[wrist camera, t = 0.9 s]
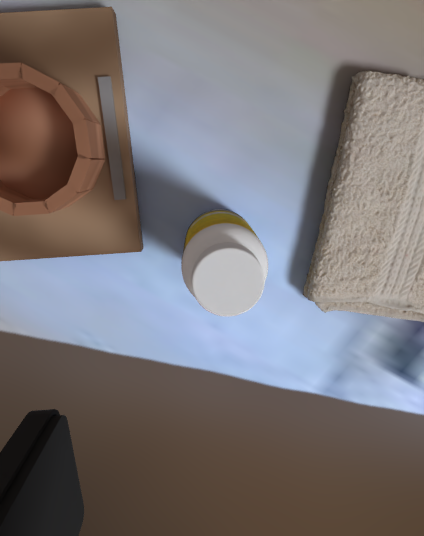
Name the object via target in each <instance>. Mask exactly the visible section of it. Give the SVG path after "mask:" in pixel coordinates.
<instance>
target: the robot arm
mask: <svg viewBox="0 0 424 536" xmlns="http://www.w3.org/2000/svg"><path fill="white" fill-rule="evenodd" d="M83 517H84V505H83V499H82V494H81V489H80V483H79V479H78V473H77V468H76V463H75V457H74V453H73V447H72V442H71V437H70V431H69V427H68V421H67V418H66V416H64V415H60V414H59V412H58V410H55V409H52V410H38V411H31V412H29V413H28V414H27V415H26V417H25V418H24V419H23V421H22V422H21V424H20V425H19V426H18V428H17V429H16V431H15V432H14V434H13V435H12V437H11V438H10V439H9V441H8V442H7V444H6V445H5V447H4V448H3V449H2V451H1V452H0V536H78V535H79V532H80V529H81V526H82V522H83Z"/></svg>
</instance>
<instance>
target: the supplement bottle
mask: <svg viewBox="0 0 424 536" xmlns="http://www.w3.org/2000/svg"><path fill="white" fill-rule="evenodd" d="M267 273H268V258H267V254H266V251H265V249H264V247H263V245H262V243H261V242H260V240H259V238H258V237H257V236H256V234H255V233H254V231H253V230H252V229H251V227H250V226H249V224H248V223H247V222H246V221H245V220H244V219H243V218H242V217H241V216H239V215H238V214H236V213H234V212H232V211H229V210H223V209H217V210H211V211H208V212H206V213H204V214H202V215H200V216H199V217H197V218H196V219H195V220H194V221H193V223H192V224H191V225H190V227H189V229H188V231H187V234H186V238H185V243H184V250H183V255H182V275H183V279H184V282H185V284H186V286H187V288H188V289H189V291H190V292H191V293H192V295H193V296H194V297H195V298H196V300H197V301H198V303H199V304H200V305H201V306H202V307H203V308H204V309H206V310H207V311H209V312H211V313H213V314H215V315H219V316H236V315H239V314H242V313H244V312H246V311H248V310H249V309H251V308H252V307H253V306H254V305H255V304H256V303H257V301H258V300H259V299H260V297H261V295H262V293H263V289H264V283H265V280H266V277H267Z"/></svg>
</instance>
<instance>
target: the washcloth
mask: <svg viewBox="0 0 424 536" xmlns="http://www.w3.org/2000/svg"><path fill="white" fill-rule="evenodd" d="M344 113H345V118H344V121H343V122H342V124H341V134H340V140H339V145H338V148H337V151H336V157H335V158H334V160H335V161H334V164H333V166H332V169H331V173H332V174H331V178H330V180H329V182H328V186H327V189H328V191H327V193H326V200H325V206H324V210H325V211H324V214H323V215H322V220H321V223H320V226H319V228H320V230H319V235H318V239H317V242H316V245H315V251H314V253H313V257H312V262H311V264H310V268H309V273H308V274H307V280H306V283H305V285H304V293H303V295H304V296H305V297H307V298H308V300H310V301H313V302H315V304H316V305H317V306H318V307H319V308H320V309H321V310H322V311H324V312H325V313H326V312H327V311H333V310H338V311H350V312H357V313H362V314H371V315H377V316H385V317H391V318H398V319H407V320H415V321H422V322H424V79H419V78H414V77H409V75H408V76H401V75H400V74H399V75H397V74H384V73H381V72H372V71H363V72H359V73H357V74H356V75H355V76H352V85H351V86H350V92H349V99H348V102H347V104H346V109H345V110H344Z"/></svg>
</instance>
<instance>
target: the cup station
mask: <svg viewBox="0 0 424 536" xmlns="http://www.w3.org/2000/svg"><path fill="white" fill-rule="evenodd" d="M142 249H143V241H142V233H141V224H140V216H139V207H138V199H137V190H136V182H135V173H134V165H133V157H132V148H131V140H130V131H129V123H128V114H127V106H126V97H125V89H124V80H123V72H122V64H121V55H120V47H119V38H118V30H117V21H116V14H115V12H114V10H113V9H112V7H100V8H82V9H64V10H46V11H28V12H9V13H0V261H11V260H25V259H40V258H55V257H69V256H84V255H99V254H113V253H128V252H141V251H142Z"/></svg>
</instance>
